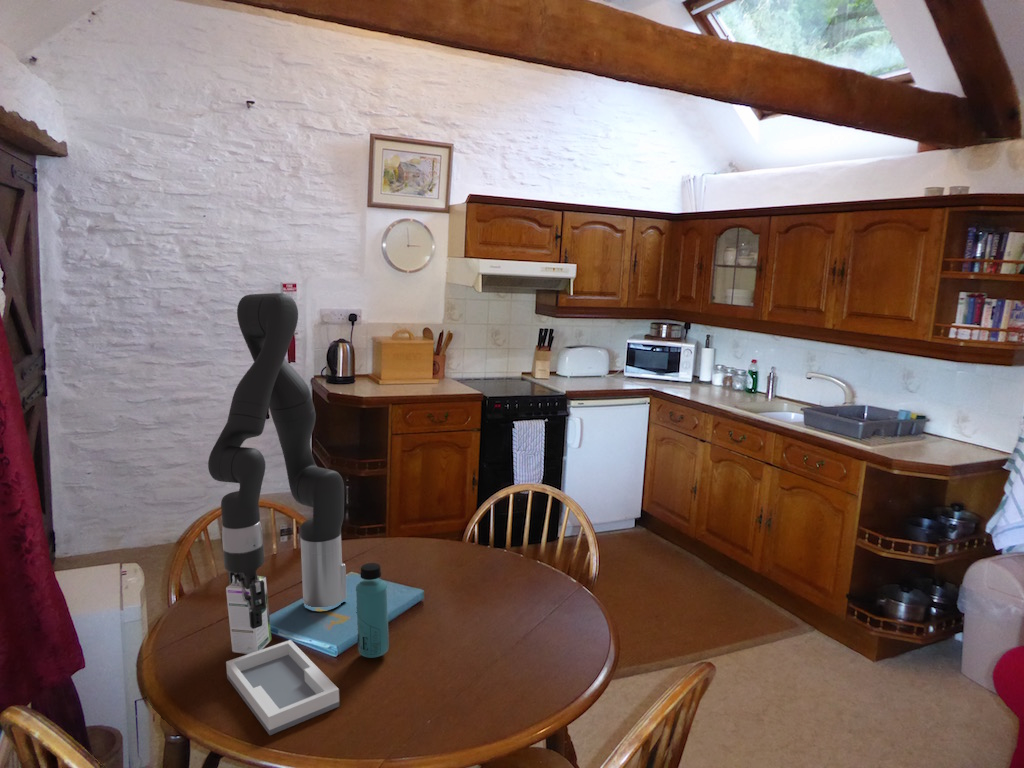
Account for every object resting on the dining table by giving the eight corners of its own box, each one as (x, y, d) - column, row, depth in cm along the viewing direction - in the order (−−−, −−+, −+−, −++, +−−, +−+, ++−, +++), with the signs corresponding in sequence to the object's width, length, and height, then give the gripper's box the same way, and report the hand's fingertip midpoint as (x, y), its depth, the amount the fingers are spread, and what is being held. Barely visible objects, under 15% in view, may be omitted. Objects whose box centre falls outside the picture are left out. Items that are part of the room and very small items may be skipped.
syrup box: (257, 655, 144) (252, 588, 141) (230, 652, 145) (225, 586, 142) (272, 640, 149) (267, 575, 147) (246, 637, 150) (241, 573, 148)
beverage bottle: (395, 651, 150) (393, 561, 146) (379, 668, 143) (377, 574, 140) (367, 645, 152) (365, 556, 148) (351, 662, 145) (348, 569, 142)
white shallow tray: (291, 655, 148) (290, 639, 147) (339, 706, 131) (338, 688, 130) (227, 678, 140) (226, 661, 139) (269, 735, 123) (268, 717, 122)
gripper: (275, 550, 140) (280, 626, 143) (248, 528, 151) (254, 600, 154) (236, 560, 135) (242, 639, 138) (212, 537, 146) (218, 611, 149)
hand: (248, 618), depth 146 cm, fingers closed on syrup box, 7 cm apart
